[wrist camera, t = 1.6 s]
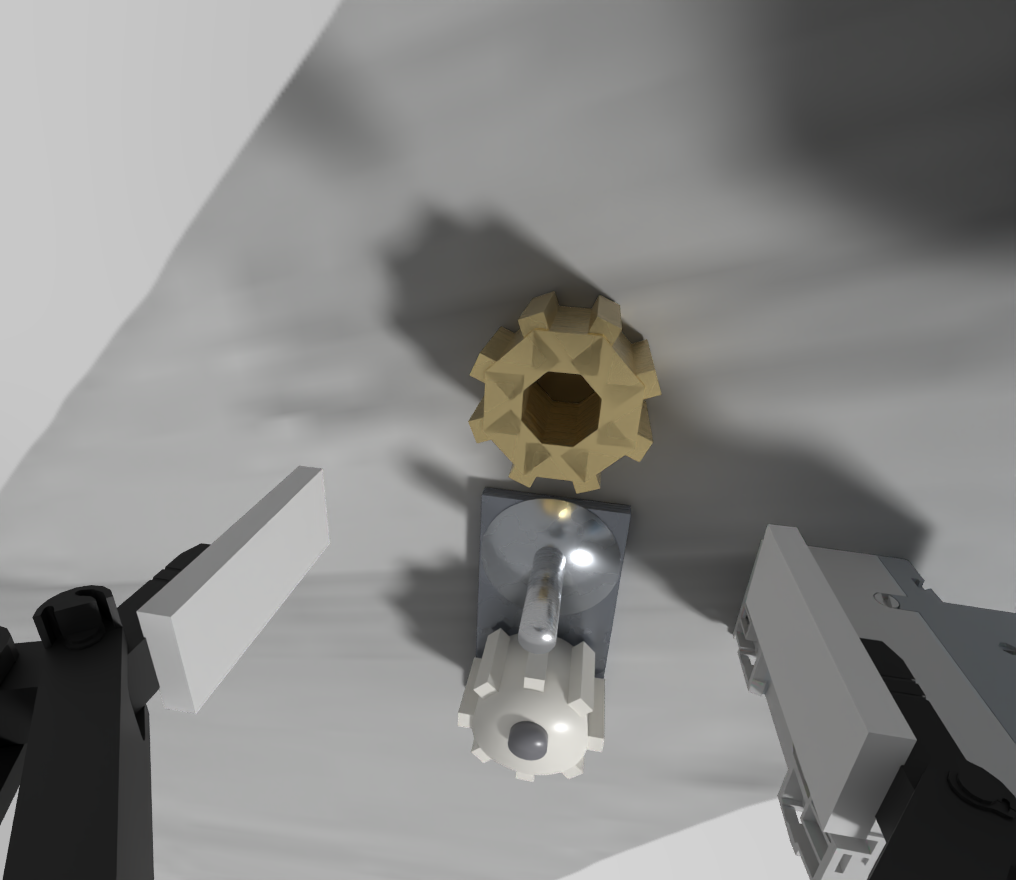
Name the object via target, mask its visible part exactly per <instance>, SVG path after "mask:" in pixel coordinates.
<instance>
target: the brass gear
mask: <svg viewBox="0 0 1016 880" xmlns="http://www.w3.org/2000/svg"><path fill="white" fill-rule="evenodd" d="M518 323H519V326H520V329H519V330H518V331H517V332H516V333H513V332H511V331H509V330H507V329H505V328H503V327H502V326H501V327H500V328H499V330H498V331H497V332H496V333H495V335H494V336H493V337H492V338H491V340H490V341H489V342H488V343H487V345H486V346H485V347H484V348H483V350H482V351H481V352H480V354H479V356H478V358H477V360H476V362H475V364H474V366H473V369H472V371H471V373H470V376H472V377H474V378H476V379H478V380H480V381H481V382H483V383H485V395H484V397H483V398H482V400H481V402H480V403H479V405H478V406H477V408H476V410H475V411H474V413H473V415H472V416H471V418H470V420H469V421H468V422H469V425H470V427H471V430H472V432H473V435H474V437H475V440H476V442H477V443H480V442H484V441H488V440H492V441H493V442H494V443H495V444H496V445H497V447H498V448H499V449H500V450H501V451H502V452H503V453H504V454H505V455H506V456H507V457H508V459H509V460H510V461H511V462H512V463H513V465H512V468H511V471H510V474H509V478H511V479H513V480H515V481H517V482H519V483H521V484H523V485H525V486H527V487H529V488H530V487H531V485H532V483H533V482H534V480H535V478H536V477H543V478H551V479H559V480H568V481H572V482H573V485H574V488H575V491H576V494H578V493H583V492H587V491H591V490H596V489H600V478H601V471H602V470H604V469H605V468H607V467H608V466H610V465H611V464H613V463H614V462H616V461H617V460H619V459H620V458H622V457H623V456H625V455H626V456H628V457H630V458H632V459H634V460H636V461H638V462H640V461H641V460H642V458H643V457H644V455H645V454H646V452H647V451H648V449H649V448H650V446H651V445H652V443H653V439H652V433H651V427H650V421H649V416H648V410H647V404H646V401H645V400H644V399H647V398H651V397H655V396H659V395H661V391H660V387H659V383H658V379H657V375H656V371H655V368H654V364H653V360H652V356H651V352H650V348H649V345H648V341H647V339H646V340H643V341H640V342H636V343H633V344H631V342H630V341H629V340H628V339H627V337H626V336H625V335H624V334H623V333H622V331H621V330H622V323H621V313H620V305H618V304H616V303H615V302H613V301H611V300H609V299H607V298H605V297H603V296H601V295H599V296H598V298H597V300H596V302H595V304H594V305H593V307H592V309H591V308H579V307H567V306H559V303H558V300H557V297H556V294H555V291H553V292H550V293H547V294H544V295H541V296H538V297H535V298H533V299H532V300H531V302H530V303H529V305H528V306H527V307H526V309H525V310H524V312H523V313H522V315H521V316H520V317H519V319H518ZM547 371H551V372H561V373H571V374H581V375H582V376H583V377H584V379H585V380H586V381H587V382H588V383H589V385H590V386H591V387H592V388H593V389H594V390H595V392H594V393H593V394H591V395H590V396H589V397H587V398H586V399H585V400H583V401H582V402H581V403H579V404H577V403H567V402H558V401H553V400H552V399H551V398H550V397H549V396H548V395H547V393H546V392H545V391H544V390H543V389H542V388H541V387H540V385H539V384H538V383H537V382H536V380H537V379H539V378H540V377H541V376H542V375H544V374H545V373H546V372H547Z"/></svg>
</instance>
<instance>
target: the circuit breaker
mask: <svg viewBox="0 0 1016 880" xmlns="http://www.w3.org/2000/svg"><path fill="white" fill-rule="evenodd" d="M762 542H763V539H761V542H760V546H759V549H758V552H757V556H756V559H755V562H754V565H753V569H752V572H751V575H750V579H749V582H748V585H747V589H746V592H745V595H744V599H743V602H742V605H741V609H740V612H739V615H738V619H737V622H736V625H735V629H734V632H733V638H734V639H737V642H738V646H739V650H738V656H739V659H740V663H741V666H742V670H743V673H744V677H745V681H746V684H747V688H748V691H749V692H751V693H754V694H756V695H759V696H762V694H765V696H766V699H767V702H768V706H769V709H770V712H771V715H772V719H773V722H774V725H775V728H776V731H777V735H778V738H779V741H780V744H781V748H782V751H783V754H784V757H785V760H786V764H787V767H788V771H787V773H786V776H785V778H784V781H783V783H782V786H781V788H780V791H779V793H778V799H779V802H780V806H781V809H782V813H783V816H784V820H785V823H786V827H787V831H788V835H789V838H790V842H791V844H792V847H793V849H794V852H795V854H796V855H797V856H801V858H802V860H803V863H804V865H805V868H806V870H807V873H808V875H809V878H810V880H867V878H868V875H869V873H870V872H871V870H872V868H873V866H874V864H875V862H876V860H877V859H878V857H879V855H880V853H881V851H882V849H883V847H884V846H885V844H886V841H885V839H884V837H883V834H882V832H881V830H880V827H879V825H878V823H877V820H876V821H875V823H874V825H873V827H872V828H871V830H870V832H869V834H868V836H867V838H866V840H865V839H860V838H854V837H849V836H844V835H838V834H833V833H828V832H823V830H822V827H821V824H820V821H819V818H818V815H817V812H816V809H815V806H814V803H813V800H812V797H811V794H810V791H809V788H808V785H807V782H806V779H805V776H804V774H803V771H802V768H801V765H800V762H799V759H798V756H797V753H796V750H795V747H794V744H793V741H792V738H791V735H790V732H789V729H788V726H787V723H786V720H785V717H784V714H783V711H782V708H781V705H780V703H779V700H778V697H777V694H776V691H775V688H774V685H773V682H772V679H771V676H770V673H769V670H768V667H767V664H766V661H765V658H764V655H763V652H762V649H761V646H760V643H759V640H758V637H757V634H756V632H755V629H754V626H753V623H752V620H751V617H750V614H749V611H748V608H747V605H746V598H747V595H748V591H749V588H750V584H751V581H752V577H753V574H754V570H755V567H756V563H757V560H758V556H759V553H760V549H761V546H762ZM808 548H809V550H810V552H811V554H812V555H813V557H814V559H815V561H816V562H817V564H818V566H819V568H820V569H821V571H822V573H823V575H824V577H825V578H826V580H827V582H828V584H829V585H830V587H831V589H832V591H833V592H834V594H835V596H836V598H837V600H838V601H839V603H840V605H841V607H842V608H843V610H844V612H845V614H846V615H847V617H848V619H849V621H850V623H851V624H852V626H853V628H854V630H855V631H856V633H857V635H858V637H859V638H865V639H872V640H879V641H883V642H884V643H885V644H886V645H887V646H888V647H890V648H891V649H892V650H893V651H894V652H895V653H896V654H897V655H898V656H899V657H901V658H902V659H903V660H904V662H905V664H906V665H907V667H908V668H909V670H910V672H911V673H912V675H913V676H914V678H915V679H916V681H915V682H916V683H917V684H919V686H920V687H921V689H922V690H923V692H924V694H925V695H926V700H929V702H930V703H931V705H932V706H933V708H934V709H935V711H936V713H937V714H938V716H939V717H940V719H941V721H942V722H943V724H944V725H945V727H946V728H947V730H948V732H949V733H950V735H951V736H952V738H953V739H954V741H955V743H956V744H957V746H958V747H959V749H960V751H961V752H962V754H963V755H964V757H965V758H966V760H967V761H969V762H971V763H973V764H975V765H977V766H979V767H982V768H984V769H985V770H986V771H988V772H989V773H990V774H992V775H993V776H994V777H996V778H997V779H999V780H1000V781H1001V782H1002V783H1003V784H1004V785H1005V786H1006V787H1007V788H1008V789H1009V790H1010V791H1011V792H1012V794H1013V795H1014V796H1015V797H1016V613H1010V612H1004V611H997V610H991V609H984V608H978V607H971V606H964V605H958V604H951V603H945V602H942V601H941V599H940V598H939V597H938V596H937V595H936V594H935V593H934V591H933V590H932V589H931V588H930V589H927V590H924V589H923V587H922V585H923V583H924V581H925V580H924V579H923V578H922V577H921V576H920V574H919V573H918V572H917V571H916V569H915V568H914V567H913V566H912V564H911V563H910V562H909V561H908V560H906V559H899V558H892V557H885V556H878V555H871V554H863V553H856V552H849V551H842V550H835V549H827V548H820V547H813V546H808ZM746 615H748V616H746ZM750 659H752V660H756V661H755V664H754V665H751V662H750ZM795 810H796V811H801V812H802V815H801V817H800V819H801V822H802V824H799V822H798V818H797V815H796V812H795Z"/></svg>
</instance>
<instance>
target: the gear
mask: <svg viewBox="0 0 1016 880" xmlns="http://www.w3.org/2000/svg"><path fill="white" fill-rule="evenodd" d="M594 676H595V652H594V651H593V650H592V649H591V648H590V647H589V646H588V645H587V644H586V643H585V642H584V641H583V642H581V643H579V644H578V645H576V646H572V645H571V644H570V643H568V642H566V641H565V640H563V639H561V638H558V637H557V638H556V644H555V647H554V648H553V649H552V650H551V651H550V652H548V653H545V654H534V653H531V652H528V651H526V650H525V649H524V648H522V646H521V645H520V644H519V641H518V634H514V635H511V636H508V635H507V634H506V633H505V632H504V631H503V630H502V629H501V628H500V629H498V630H496V631H495V632H493V633H491V634H490V635H488V637H487V641H486V645H485V648H484V652H483V656H482V659H481V658H475V657H474V660H473V663H472V667H471V670H470V673H469V677H468V680H467V684H466V687H465V691H464V694H463V698H462V701H461V705H460V708H459V712H458V726H461V727H467V728H472V731H473V735H474V742H473V746H472V750H471V752H472V753H473V754H474V755H475V756H476V757H477V758H478V759H479V760H481V761H482V762H483V763H485V762H487V761H489V760H491V759H492V760H494V761H495V762H497V763H498V764H500V765H502V766H504V767H506V768H509V769H511V770H514V771H516V779H521V780H526V781H531V782H534V777H535V775H550V774H556V773H560V772H561V773H562V774H563V775H565V776H566V777H567V778H568V779H571V778H573V777H575V776H578V775H580V774H582V773H583V770H584V754H585V752H586V750H592V751H597V752H602V749H603V744H604V723H605V679H601V678H595V677H594Z"/></svg>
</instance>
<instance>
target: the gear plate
mask: <svg viewBox="0 0 1016 880" xmlns="http://www.w3.org/2000/svg"><path fill="white" fill-rule="evenodd" d="M630 517H631V508H630V506H629V505H621V504H613V503H605V502H597V501H589V500H581V499H574V498H566V497H558V496H550V495H542V494H534V493H526V492H518V491H511V490H503V489H495V488H487V487H485V489H484V491H483V494H482V505H481V533H480V560H479V587H478V615H477V642H476V658H481V659H482V656H483V652H484V648H485V645H486V641H487V637H488V635H490V634H491V633H493V632H495V631H496V630H498V629H500V628H501V629H502V630H503V631H504V632H505V633H506V634H507V635H508V636H511V635H514V634H518V641H519V644H520V645H521V646H522V648H524V649H525V650H526V651H528V652H531V653H534V654H545V653H548V652H550V651H551V650H552V649H553V648H554V647H555V644H556V638H557V637H558V638H561V639H563V640H565V641H566V642H568V643H570V644H571V645H572V646H576V645H578V644H579V643H581V642H583V641H584V642H585V643H586V644H587V645H588V646H589V647H590V648H591V649H592V650H593V651H594V652H595V676H594V677H595V678H601V679H604V673H605V667H606V661H607V655H608V649H609V643H610V637H611V631H612V625H613V619H614V613H615V607H616V601H617V595H618V589H619V583H620V577H621V571H622V565H623V559H624V553H625V547H626V541H627V535H628V529H629V523H630Z"/></svg>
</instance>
